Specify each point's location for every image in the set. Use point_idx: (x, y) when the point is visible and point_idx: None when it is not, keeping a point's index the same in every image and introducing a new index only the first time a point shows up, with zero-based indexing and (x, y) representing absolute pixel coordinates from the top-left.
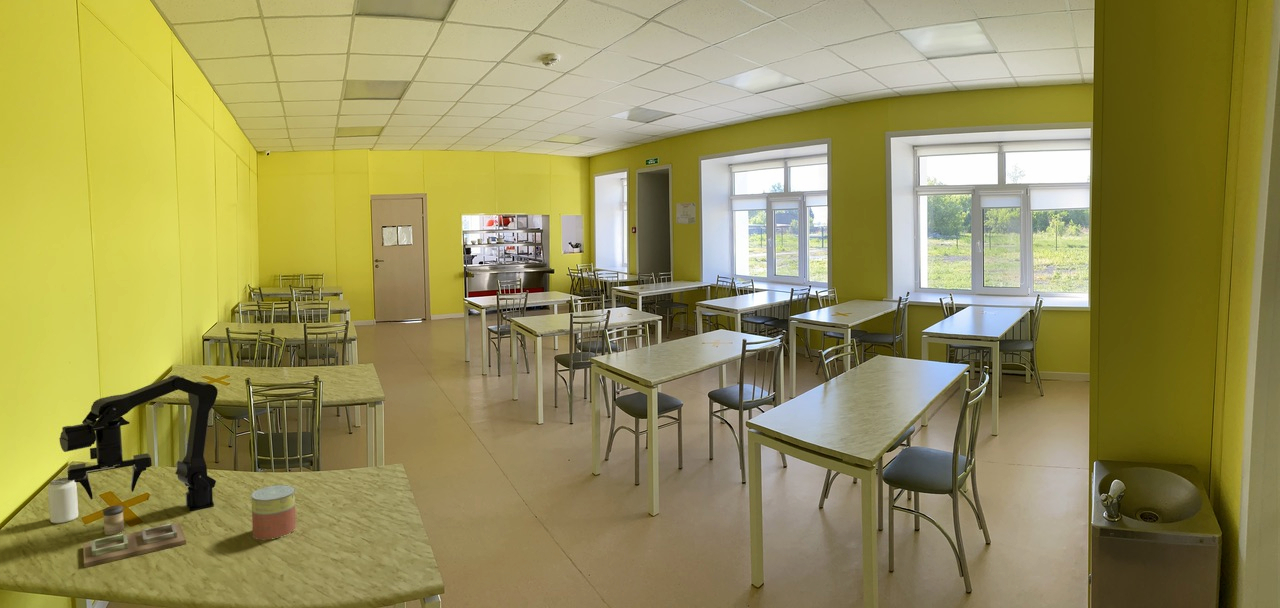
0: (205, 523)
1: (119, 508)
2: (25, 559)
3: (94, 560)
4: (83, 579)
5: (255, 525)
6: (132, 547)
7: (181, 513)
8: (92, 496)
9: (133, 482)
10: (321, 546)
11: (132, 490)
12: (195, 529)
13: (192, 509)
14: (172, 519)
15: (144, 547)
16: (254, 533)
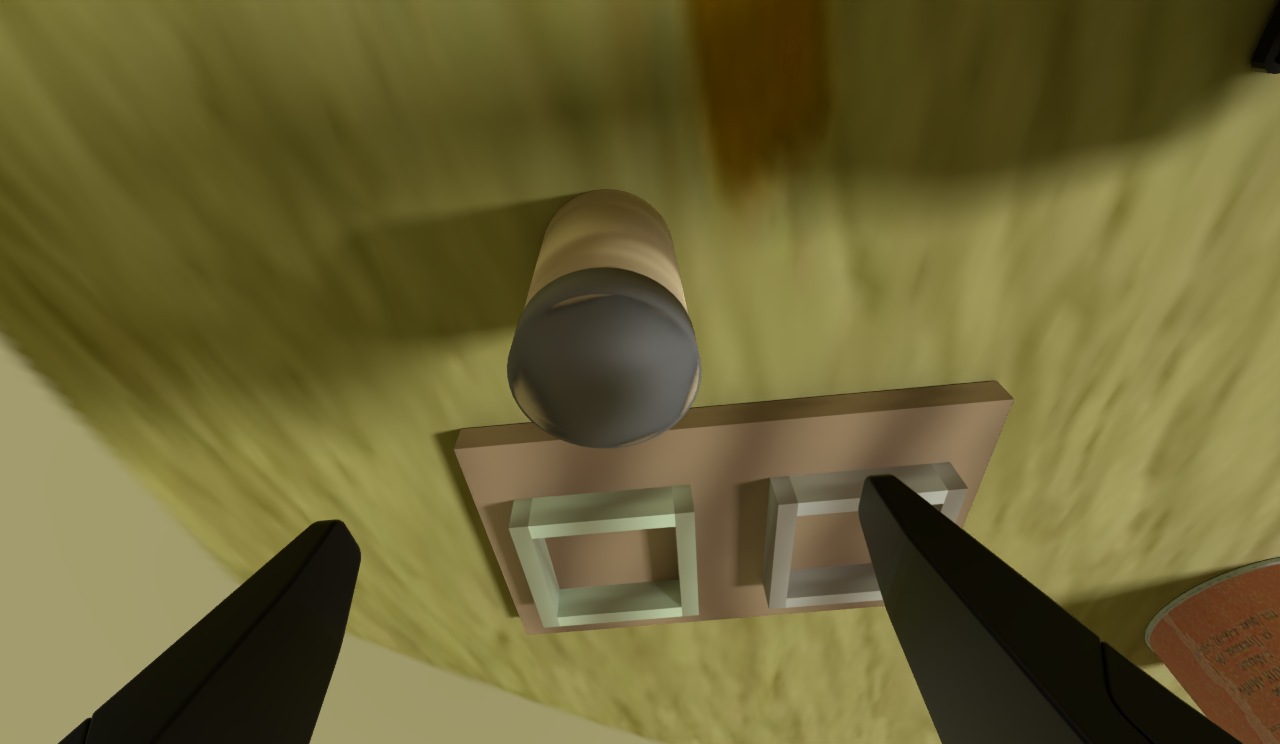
0: (1129, 402)
1: (668, 404)
2: (173, 440)
3: (564, 628)
4: (548, 675)
5: (1200, 699)
6: (712, 585)
7: (1155, 85)
8: (349, 609)
9: (957, 738)
10: None
11: (876, 543)
12: (1037, 458)
13: (1276, 70)
14: (1025, 210)
15: (760, 602)
16: (1165, 649)
